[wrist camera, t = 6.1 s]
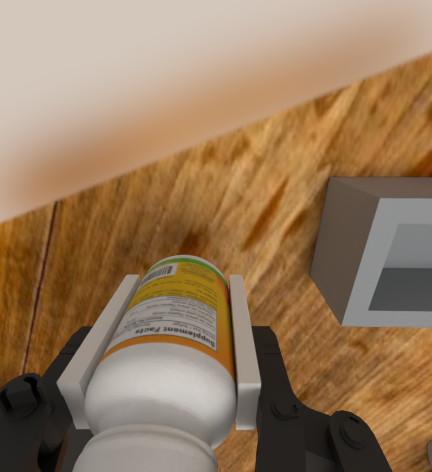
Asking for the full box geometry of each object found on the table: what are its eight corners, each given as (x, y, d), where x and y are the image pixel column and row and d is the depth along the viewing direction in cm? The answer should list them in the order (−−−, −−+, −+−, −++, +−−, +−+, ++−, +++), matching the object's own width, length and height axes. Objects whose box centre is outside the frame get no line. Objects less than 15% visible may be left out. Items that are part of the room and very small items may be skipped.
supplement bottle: (211, 330, 16) (204, 581, 7) (135, 309, 15) (16, 558, 6) (242, 268, 14) (286, 509, 5) (155, 240, 13) (20, 462, 4)
